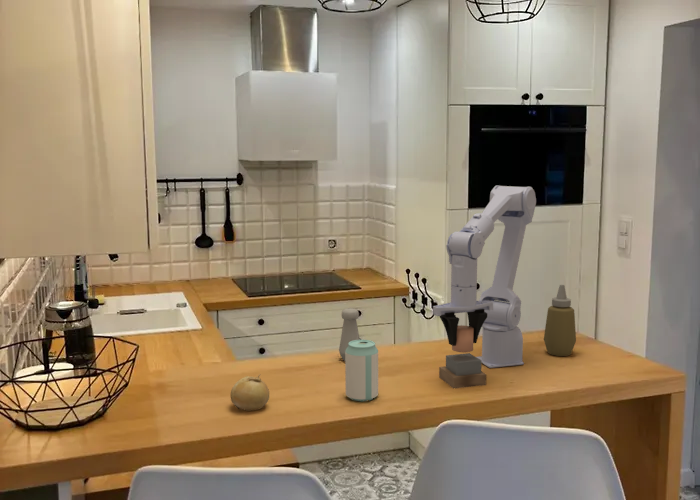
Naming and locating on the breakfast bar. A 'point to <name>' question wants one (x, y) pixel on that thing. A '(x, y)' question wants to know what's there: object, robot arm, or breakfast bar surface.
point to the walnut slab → (461, 379)
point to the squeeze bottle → (560, 325)
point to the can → (361, 370)
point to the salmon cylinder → (464, 339)
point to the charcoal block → (463, 364)
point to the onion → (250, 393)
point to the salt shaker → (348, 329)
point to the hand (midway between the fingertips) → (462, 343)
